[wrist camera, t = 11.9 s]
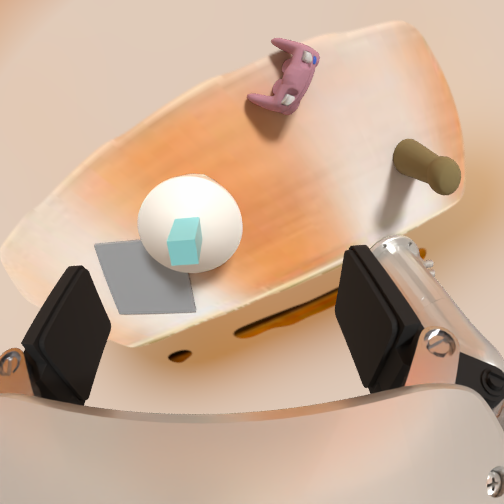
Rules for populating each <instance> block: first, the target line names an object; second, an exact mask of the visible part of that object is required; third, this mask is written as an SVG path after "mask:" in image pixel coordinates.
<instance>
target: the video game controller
mask: <svg viewBox="0 0 504 504" xmlns="http://www.w3.org/2000/svg"><path fill="white" fill-rule="evenodd" d="M271 42H272V44H273V45H275V46H276V47H278V48H279V49H281V50H283V51H285V52H287V53H290V54H292V55H293V56H292V58H290V59H287V60H286V61H285V62H284V63H283V66H282V72H283V73H284V75H283V78H282V79H279V80H277V81H276V82H275V84H274V86H273V93H274V94H275V95H274V96H265V95H260V94H248V95H247V98H248V100H249V101H251V102H252V103H254V104H256V105H258V106H260V107H263V108H265V109H268V110H271V111H275V112H279V113H282V114H285V115H290V114H292V113H293V112H294V111H296V109H297V108H298V106H299V104H300V100H301V99H302V97H303V96H304V94H305V93H306V91H307V89H308V87H309V85H310V82H311V80H312V77H313V74H314V71H315V67H316V66H317V65H318V63H319V59H320V56H319V54H318V52H316V51H315V50H314V49H312V48H311V47H309V46H307V45H304V44H302V43H298V42H295V41H291V40H286V39H282V38H274V39H272V40H271Z"/></svg>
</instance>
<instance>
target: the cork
mask: <svg viewBox="0 0 504 504" xmlns="http://www.w3.org/2000/svg"><path fill="white" fill-rule="evenodd" d="M393 161H394V166H395V167H396V169H397V171H399V172H400V173H401V174H404V175H406V176H409V177H412V178H415V179H417V180H420V181H423V182H426V183H428V184H429V185H430V187H431V188H432V189H433V190H434V191H435V192H436V193H438V194H441V195H449V194H452V193H453V192H454V191H456V189H457V188H458V186H459V184H460V180H461V172H460V169H459V166H458V165H457V163H456V162H455V161H454V160H452V159H451V158H449V157H444V156H438V155H436V154H435V153H433V152H432V151H430V150H429V149H427V148H426V147H425V146H423V145H421V144H420V143H418V142H417V141H415V140H413V139H405V140H402V141H401V142H400V143H399V144H398V145H397V147H396V148H395V151H394V154H393Z"/></svg>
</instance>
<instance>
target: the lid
mask: <svg viewBox="0 0 504 504" xmlns="http://www.w3.org/2000/svg"><path fill="white" fill-rule="evenodd" d="M138 232H139V236H140V239H141V241H142V244H143V246H144V247H145V249H146V250H147V252H148V253H149V254H150V255H151V256H152V257H153V258H154V259H155V260H156V261H158V262H159V263H160V264H162V265H164V266H165V267H168V268H170V269H172V270H175V271H179V272H184V273H200V272H205V271H209V270H212V269H215V268H217V267H219V266H220V265H222V264H223V263H225V262H226V261H227V260H228V259H229V258H230V257H231V256H232V255H233V254H234V252H235V251H236V249H237V247H238V245H239V243H240V240H241V236H242V218H241V213H240V209H239V207H238V205H237V203H236V201H235V199H234V198H233V196H232V195H231V194H230V193H229V192H228V191H227V190H226V189H225V188H224V187H223V186H221V185H220V184H218V183H217V182H215V181H213V180H211V179H208V178H205V177H201V176H195V175H182V176H176V177H173V178H170V179H167V180H165V181H163V182H162V183H160V184H158V185H157V186H156V187H155V188H154V189H152V191H151V192H150V193H149V194H148V195H147V197H146V198H145V200H144V202H143V203H142V205H141V208H140V211H139V214H138Z"/></svg>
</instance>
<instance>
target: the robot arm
mask: <svg viewBox="0 0 504 504" xmlns="http://www.w3.org/2000/svg"><path fill="white" fill-rule="evenodd" d="M432 266H433V261H432V260H426V261H423V260H422V258H421V257H420V256H419V250H418V247H417V245H416V244H415V243H414V242H413V240H411V239H410V238H409V237H406V236H403V235H393V236H389V237H387V238H384V239H382V240H381V241H379V242H378V243H376V244H375V245H374V246H373V247H372V248H371V249H369V248H368V246H366V245H356V246H350V248H349V250H346V251H345V253H344V259H343V265H342V271H341V277H340V284H339V289H338V294H337V300H336V305H335V315H336V318H337V320H338V323H339V325H340V327H341V330H342V332H343V335H344V337H345V340H346V342H347V345H348V347H349V350H350V352H351V355H352V358H353V360H354V363H355V365H356V368H357V370H358V373H359V376H360V379H361V381H362V384H363V386H364V387H365V388H369V391H370V394H368V395H364V396H359V397H354V398H349V399H344V400H339V401H333V402H328V403H322V404H316V405H310V406H303V407H296V408H288V409H280V410H271V411H260V412H246V413H230V414H161V413H160V414H159V413H143V412H130V411H120V410H111V409H103V408H95V407H89V406H84V403H85V400H87V399H88V398H89V395H90V392H91V388H92V385H93V382H94V378H95V375H96V372H97V369H98V366H99V362H100V359H101V356H102V353H103V350H104V347H105V345H106V342H107V339H108V336H109V333H110V330H111V323H110V320H109V318H108V316H107V314H106V311H105V309H104V307H103V305H102V302H101V300H100V298H99V295H98V293H97V291H96V288H95V286H94V283H93V281H92V278H91V276H90V273H89V271H88V270H87V269H85V268H84V267H83V266H82V265H81V266H69V267H68V268H67V269H66V271H65V272H64V274H63V275H62V277H61V278H60V280H59V281H58V282H57V284H56V285H55V287H54V289H53V290H52V292H51V293H50V295H49V296H48V298H47V299H46V301H45V303H44V304H43V306H42V308H41V309H40V311H39V313H38V314H37V316H36V318H35V319H34V321H33V323H32V324H31V326H30V328H29V330H28V331H27V333H26V335H25V337H24V339H23V341H22V342H21V344H22V345H23V346H24V348H25V351H24V353H23V351H21V350H20V349H18V348H11V349H9V350H7V351H5V352H4V353H3V354H2V355H1V356H0V504H504V360H503V358H502V356H501V354H500V353H499V352H498V351H497V349H496V348H495V347H494V346H493V345H492V344H491V343H490V342H489V341H488V340H487V339H486V338H485V337H484V336H483V335H482V334H481V333H480V332H479V331H478V330H477V329H476V327H475V326H474V325H473V324H472V323H471V322H470V321H469V319H468V318H467V317H466V316H465V314H464V313H463V312H462V311H461V310H460V308H459V307H458V306H457V304H456V303H455V302H454V301H453V299H452V298H451V297H450V296H449V294H448V293H447V292H446V291H445V289H444V288H443V287H442V286H441V285H440V283H439V282H438V281H437V280H436V279H435V278H434V277H435V271H434V270H433V269H427V268H428V267H432Z"/></svg>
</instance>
